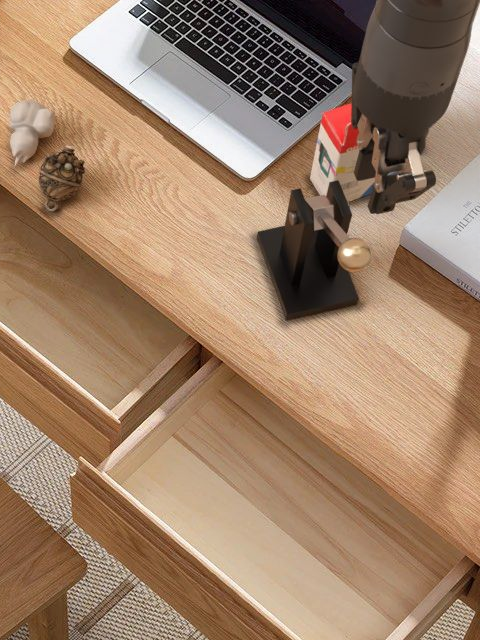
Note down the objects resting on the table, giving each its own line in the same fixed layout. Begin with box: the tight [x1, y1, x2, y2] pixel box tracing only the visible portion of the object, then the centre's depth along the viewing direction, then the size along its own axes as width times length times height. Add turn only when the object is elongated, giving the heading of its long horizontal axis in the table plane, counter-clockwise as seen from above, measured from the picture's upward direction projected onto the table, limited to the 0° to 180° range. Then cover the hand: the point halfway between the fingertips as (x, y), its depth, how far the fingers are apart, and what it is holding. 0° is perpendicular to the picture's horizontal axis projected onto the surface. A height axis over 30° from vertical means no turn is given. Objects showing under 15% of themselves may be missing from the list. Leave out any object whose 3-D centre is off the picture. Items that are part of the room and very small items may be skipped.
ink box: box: [309, 102, 398, 203], centre depth 134 cm, size 8×5×15 cm, turn 111°
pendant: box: [38, 145, 86, 213], centre depth 140 cm, size 5×8×5 cm
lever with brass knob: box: [305, 194, 373, 273], centre depth 122 cm, size 13×3×3 cm, turn 13°
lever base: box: [256, 180, 360, 321], centre depth 130 cm, size 11×8×13 cm
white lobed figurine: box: [9, 99, 55, 167], centre depth 143 cm, size 5×7×8 cm
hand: (373, 191), depth 108 cm, fingers open, 3 cm apart
